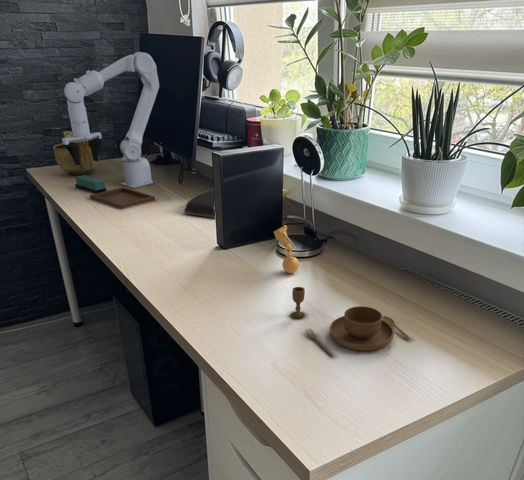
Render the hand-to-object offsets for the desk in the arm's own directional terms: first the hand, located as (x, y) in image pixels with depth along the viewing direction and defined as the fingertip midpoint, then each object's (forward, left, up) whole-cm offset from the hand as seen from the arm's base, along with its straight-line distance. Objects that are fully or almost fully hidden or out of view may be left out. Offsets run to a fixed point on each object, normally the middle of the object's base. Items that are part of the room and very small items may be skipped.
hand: (86, 162), depth 185 cm
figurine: (+11, +103, -10) cm, 104 cm away
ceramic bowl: (-10, -25, -10) cm, 29 cm away
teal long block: (+1, +1, -9) cm, 9 cm away
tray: (+1, +21, -9) cm, 23 cm away
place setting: (+23, +129, -10) cm, 131 cm away
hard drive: (-13, +52, -10) cm, 55 cm away
